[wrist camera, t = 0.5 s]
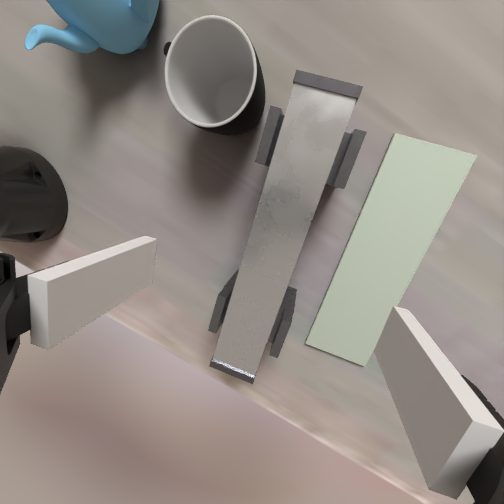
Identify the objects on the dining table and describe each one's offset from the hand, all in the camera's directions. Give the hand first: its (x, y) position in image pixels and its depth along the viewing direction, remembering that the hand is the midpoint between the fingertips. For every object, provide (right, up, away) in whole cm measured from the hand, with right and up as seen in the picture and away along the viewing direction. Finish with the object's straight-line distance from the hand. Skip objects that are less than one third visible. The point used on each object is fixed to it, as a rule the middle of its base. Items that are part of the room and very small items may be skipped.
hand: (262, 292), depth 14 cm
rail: (+2, +3, +15) cm, 16 cm away
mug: (-3, +22, +19) cm, 29 cm away
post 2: (+7, +14, +19) cm, 24 cm away
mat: (+16, +1, +20) cm, 26 cm away
